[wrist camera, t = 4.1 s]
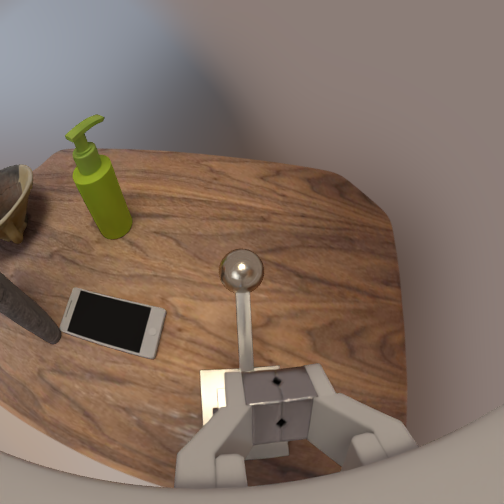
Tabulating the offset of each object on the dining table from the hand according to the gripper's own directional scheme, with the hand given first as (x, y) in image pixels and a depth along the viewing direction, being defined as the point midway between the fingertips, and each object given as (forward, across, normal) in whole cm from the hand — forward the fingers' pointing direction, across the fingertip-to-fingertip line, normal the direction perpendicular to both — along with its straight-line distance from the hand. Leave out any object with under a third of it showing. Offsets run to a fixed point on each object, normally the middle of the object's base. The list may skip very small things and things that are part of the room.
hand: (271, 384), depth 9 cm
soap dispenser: (+42, -19, -1) cm, 46 cm away
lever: (+15, 0, -7) cm, 17 cm away
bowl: (+43, -43, 0) cm, 60 cm away
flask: (+30, -32, -12) cm, 46 cm away
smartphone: (+29, -18, -13) cm, 36 cm away
